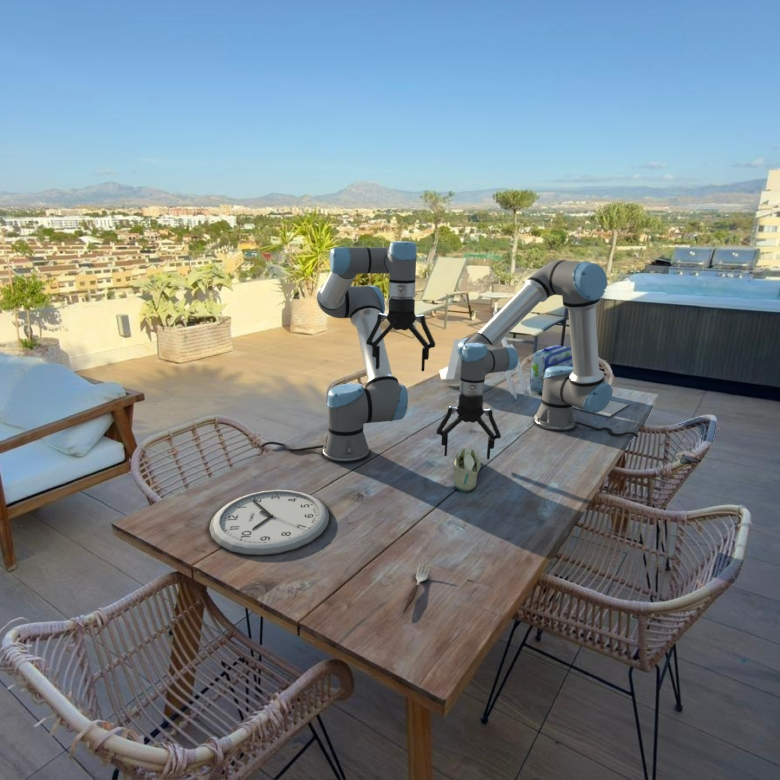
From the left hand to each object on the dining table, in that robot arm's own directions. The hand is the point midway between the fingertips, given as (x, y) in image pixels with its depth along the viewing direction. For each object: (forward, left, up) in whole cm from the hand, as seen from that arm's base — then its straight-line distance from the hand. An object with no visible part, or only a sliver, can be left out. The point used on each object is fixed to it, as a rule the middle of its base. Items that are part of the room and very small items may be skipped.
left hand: (400, 369), depth 156 cm
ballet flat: (+21, +7, -32) cm, 39 cm away
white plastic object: (-8, +90, -32) cm, 95 cm away
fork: (+33, -49, -32) cm, 67 cm away
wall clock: (-12, -45, -32) cm, 57 cm away
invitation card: (+44, +100, -32) cm, 114 cm away
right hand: (+17, +15, -30) cm, 37 cm away
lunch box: (+19, +111, -32) cm, 118 cm away
